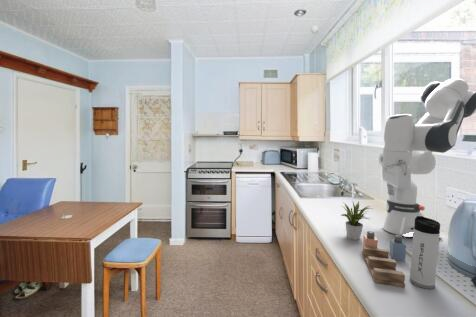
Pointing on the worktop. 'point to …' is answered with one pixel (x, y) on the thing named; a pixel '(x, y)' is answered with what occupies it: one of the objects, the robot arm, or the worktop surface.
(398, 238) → the slate plug
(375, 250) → the slotted wooden block
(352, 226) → the house plant
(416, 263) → the travel mug
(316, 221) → the worktop surface
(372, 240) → the pink square bottle
